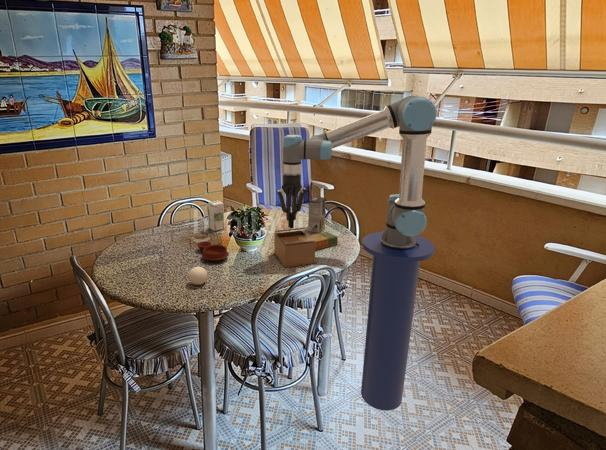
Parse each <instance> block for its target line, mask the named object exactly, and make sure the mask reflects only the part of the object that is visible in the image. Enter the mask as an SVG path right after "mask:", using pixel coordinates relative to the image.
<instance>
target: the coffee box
mask: <svg viewBox="0 0 606 450" xmlns="http://www.w3.org/2000/svg"><path fill="white" fill-rule="evenodd" d="M326 201H327V198H326V197H321V196H315V195H314V196H312V198H311V199H309V200H308V216H307V217H308V218H307V219H308V220H307V227H308V228H307V232H311V233H316V234H319V233H322V231H323V230H324V229H325V227H326V204H327V203H326Z"/></svg>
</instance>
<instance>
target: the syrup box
mask: <svg viewBox="0 0 606 450" xmlns="http://www.w3.org/2000/svg"><path fill="white" fill-rule="evenodd" d="M207 204H208V205H207V206H208V225H209V229H210V230H212V231H213V232H218V231H221V230H224V229H225V219H224V217H225V216H224V202H222V201H220V200H214V201H209V202H208V203H207Z"/></svg>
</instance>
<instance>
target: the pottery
mask: <svg viewBox="0 0 606 450" xmlns="http://www.w3.org/2000/svg"><path fill="white" fill-rule="evenodd" d="M196 246H197V247H198V249H199V250H200V251H201V252H202V253H201V257H202V258H203V259H204V260H207V261H210V262H215V263H217V262H220V261H222V260H224V259H226V258H228V257H229V255H230V254H229V251H228V249H227V248H228V247H226V246H224V245H221V244H213V245H212V243H211V241H200V242H198V243H197V244H196Z"/></svg>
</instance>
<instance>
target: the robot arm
mask: <svg viewBox="0 0 606 450" xmlns="http://www.w3.org/2000/svg"><path fill="white" fill-rule="evenodd" d="M437 115H438V113H437V107H436V105H435V104H434V102H433V101H432V100H431V99H429V98H427V97H425V96H419V95H409V96H406V97H403V98H401V99H399V100H397V101H395V102H393V103H390V104H387V105H385V106H384V108H383V109H381V110H380V111H377V112H374V113H371V114H369V115H367V116H364V117H362V118H359V119H357V120H354V121H351V122H349V123H346V124H343V125H341V126H338V127H335V128H333V129H331V130H328V131H326V132H322V133H320V134H315V135H313V136H311V137H310V138H309V139H308V140H304V139H303V137H302V135H300V134H287V135H285V136H284V137H283V139H282V173H283V174H282V185H281V188H280V189H279V190H278V189H277V190H276V191H275V192H276V194H277V196H278V199H279V203H280V207H281V211H282V212H283V213H284V214H286V216H285V219H286V221H288V222H287V224H288V226H287V227H288V229H295V227H294V226H295V225H294V224H295V221H296V219H297V214H298V212H301V209H302V205H303V201H304V198H305V195H306V193H307V191H308V190H307V189H306V188H305V187H303V186H302V184H301V183H302V174H301V173H302V160H315V161H317V160H320V161H327V160H331V159H332V155H333V154H332V153H333V150H334V149H335V148H338V147H341V146H343V145H346V144H349V143H351V142H354V141H357V140H360V139H362V138H365V137H367V136H368V137H369V136H370V135H373V134H375V133H379V132H381V131H384V130H386V129H389V128H390V129H396V128H398V129H399V130H398V135H400V136H401V138H402V145H401V162H400V177H399V189H398V190H399V192H398V193H394V194H393V193H392V194H390V195H389V196H388V201H387V202H388V203H387V214H386V223H385V228H384V230H383V231H382V232H383V234H382V236H381V241H380V242H381V244H382V245H384V246H385V247H388V248H391V249H397V250H408V249H412V248H414V247H415V246H416V245H418V246H419V245H420V244H418V243H416V239H415V235H417V236H419V235H420V234H421V233H423V232H424V231H425V229H426V227H427V224H428V219H427V216H426V215H425V211H426V210H425V209H426V201H425V200H424V199H423V188H424V187H423V186H424V173H425V163H426V153H427V152H426V150H427V139H428V137H430V136H431V135H432V130H433V125H434V123H435V121H436V119H437ZM284 194H285V198H284ZM298 194H299V195H298Z"/></svg>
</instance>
